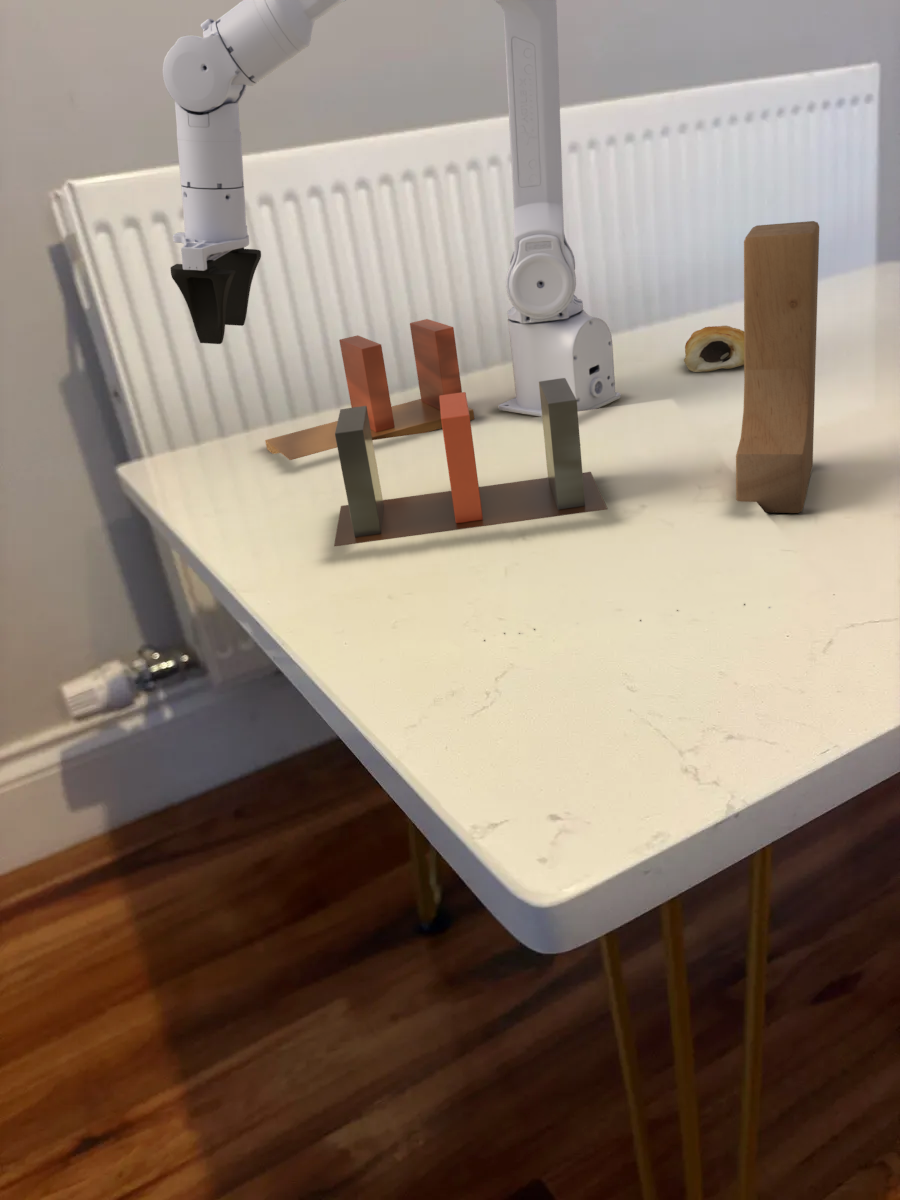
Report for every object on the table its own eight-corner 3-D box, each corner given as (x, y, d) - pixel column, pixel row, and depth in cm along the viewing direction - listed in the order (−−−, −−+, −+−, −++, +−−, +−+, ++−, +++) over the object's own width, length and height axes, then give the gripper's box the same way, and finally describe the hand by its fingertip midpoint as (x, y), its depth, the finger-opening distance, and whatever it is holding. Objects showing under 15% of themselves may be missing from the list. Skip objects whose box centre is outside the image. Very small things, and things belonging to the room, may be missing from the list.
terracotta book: (478, 491, 80) (465, 391, 77) (483, 520, 75) (469, 414, 71) (453, 494, 80) (439, 395, 77) (455, 524, 75) (440, 418, 71)
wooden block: (802, 515, 71) (809, 243, 63) (735, 513, 72) (733, 249, 64) (812, 468, 78) (820, 219, 70) (751, 467, 80) (751, 225, 72)
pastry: (688, 350, 112) (688, 314, 111) (752, 346, 111) (753, 310, 109) (683, 374, 105) (682, 336, 103) (752, 370, 103) (753, 332, 101)
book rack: (440, 403, 107) (427, 316, 103) (474, 419, 100) (463, 327, 96) (266, 449, 101) (246, 359, 97) (292, 470, 94) (271, 373, 90)
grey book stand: (591, 483, 81) (583, 371, 77) (608, 521, 74) (600, 400, 70) (342, 517, 82) (321, 408, 78) (335, 558, 75) (312, 440, 71)
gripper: (195, 176, 102) (205, 314, 108) (142, 192, 89) (157, 349, 95) (265, 179, 101) (271, 318, 107) (222, 196, 88) (232, 353, 95)
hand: (222, 333), depth 101 cm, fingers open, 7 cm apart
